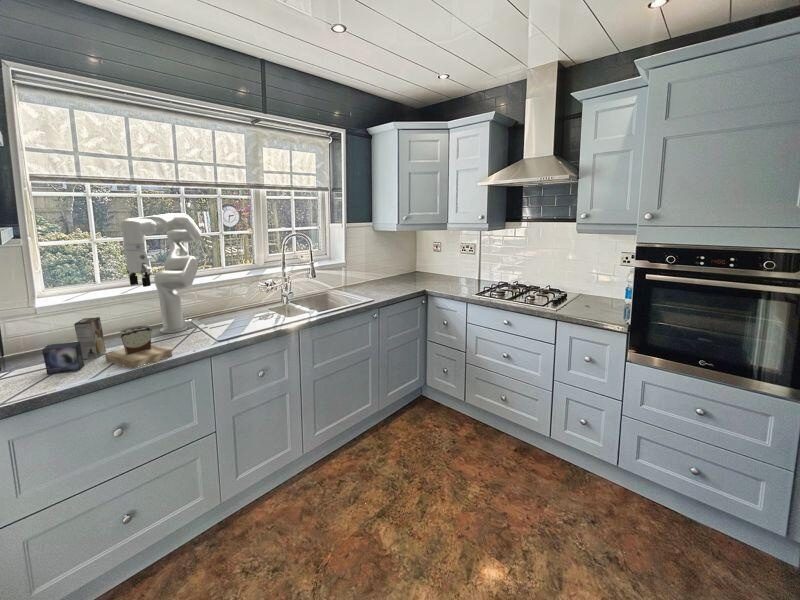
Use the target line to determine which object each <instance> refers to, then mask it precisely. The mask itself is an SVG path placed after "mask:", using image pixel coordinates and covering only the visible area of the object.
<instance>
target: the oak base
mask: <svg viewBox="0 0 800 600" xmlns="http://www.w3.org/2000/svg"><path fill="white" fill-rule="evenodd" d="M172 352H173V351H172V349H171V348H166V347H162V346H158V345H154V344H151V349H150V350H146V351H142V352H138V353H135V354H131V355H126V352H125V348H121V349H118V350H114V351H110V352H107V353H105V360H106V361H107V362H109V363H113V364H115V365H116V364H117V365H119V364H120V365H119V366H123V365H124V366H123V367H126V366H127V367H126V368H129V367H131V368H130V369H133V368H135V367H138V366H141V365H144V364H147V365H149V364H148V363H150V364H151V362H153V363H155V362H154V361H156V362H158V361H157V360H159V361H161V360H160V359H162V360H164V359H163V358H165V359H167V358H166V357H168V358H171V357H173V353H172ZM170 356H171V357H170ZM144 366H145V365H144ZM141 367H142V366H141ZM138 368H139V367H138ZM135 369H136V368H135Z"/></svg>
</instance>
